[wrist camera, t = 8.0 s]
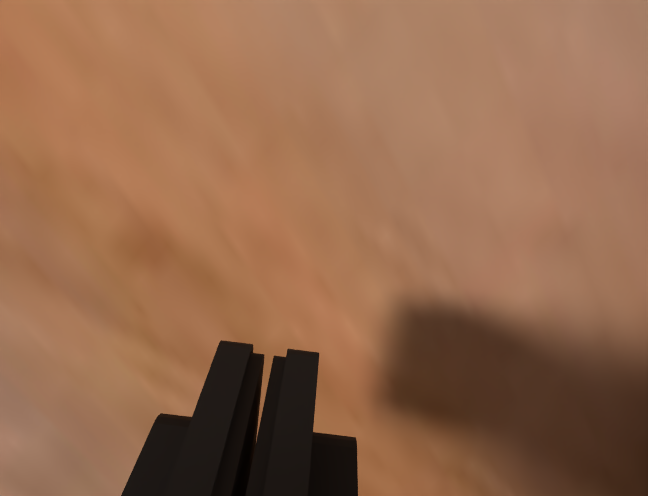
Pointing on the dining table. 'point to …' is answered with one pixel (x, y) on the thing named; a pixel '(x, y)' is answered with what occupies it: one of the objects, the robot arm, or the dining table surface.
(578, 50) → the dining table surface
